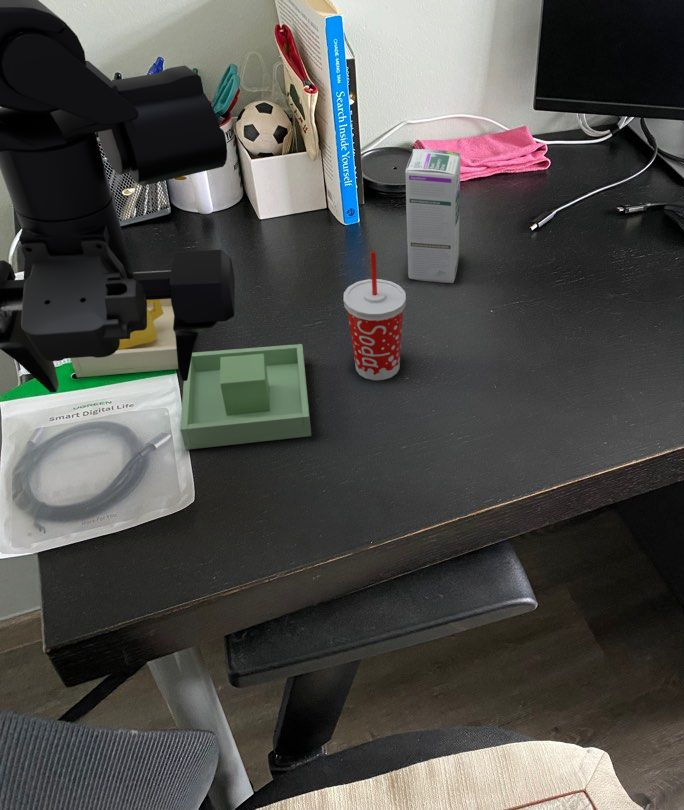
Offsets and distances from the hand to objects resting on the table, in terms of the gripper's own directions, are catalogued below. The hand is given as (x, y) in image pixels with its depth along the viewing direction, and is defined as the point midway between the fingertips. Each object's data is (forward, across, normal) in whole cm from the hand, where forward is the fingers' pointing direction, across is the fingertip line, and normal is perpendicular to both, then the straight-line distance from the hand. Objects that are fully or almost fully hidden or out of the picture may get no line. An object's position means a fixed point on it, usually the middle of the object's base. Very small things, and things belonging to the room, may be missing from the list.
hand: (121, 383), depth 63 cm
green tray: (+12, +8, +10) cm, 18 cm away
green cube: (+11, +8, +10) cm, 17 cm away
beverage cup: (+12, +21, +14) cm, 28 cm away
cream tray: (+12, -3, +22) cm, 25 cm away
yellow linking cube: (+12, -3, +22) cm, 25 cm away
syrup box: (+12, +30, +32) cm, 45 cm away
